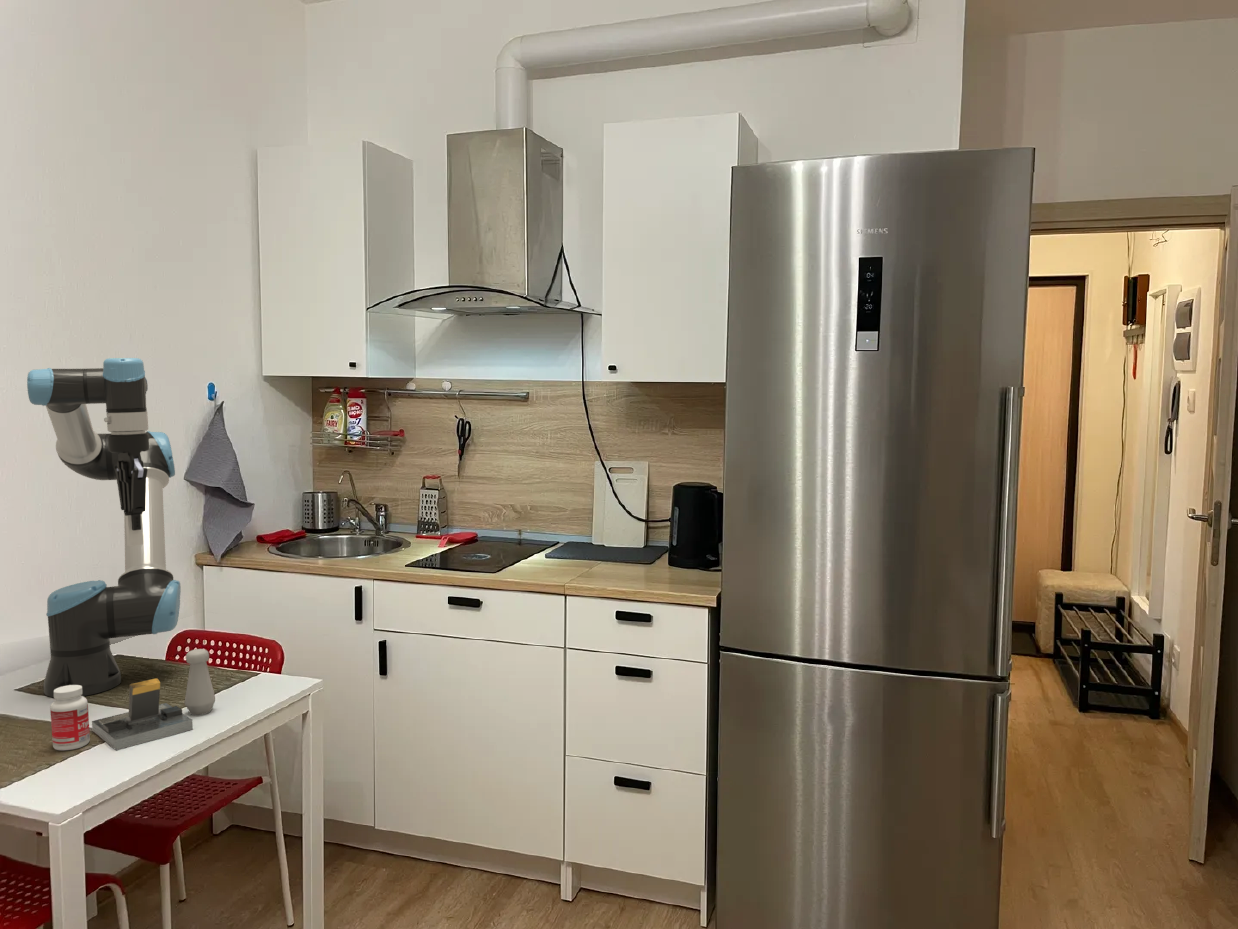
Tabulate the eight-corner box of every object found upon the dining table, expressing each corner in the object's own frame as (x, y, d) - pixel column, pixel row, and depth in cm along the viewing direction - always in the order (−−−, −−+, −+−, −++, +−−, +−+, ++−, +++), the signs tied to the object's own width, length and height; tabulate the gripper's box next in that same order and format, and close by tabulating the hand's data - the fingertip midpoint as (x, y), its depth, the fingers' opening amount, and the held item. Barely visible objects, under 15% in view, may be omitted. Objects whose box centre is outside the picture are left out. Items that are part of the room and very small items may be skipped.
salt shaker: (204, 717, 193) (200, 655, 191) (179, 716, 194) (175, 654, 193) (221, 707, 198) (218, 647, 197) (197, 706, 200) (193, 646, 198)
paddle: (125, 721, 184) (126, 685, 181) (157, 713, 188) (159, 677, 186) (128, 725, 183) (130, 689, 180) (160, 717, 187) (162, 682, 185)
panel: (92, 731, 186) (91, 716, 186) (166, 712, 196) (165, 698, 196) (116, 750, 176) (115, 734, 176) (192, 729, 186) (191, 714, 186)
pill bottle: (84, 749, 177) (80, 692, 176) (48, 753, 176) (43, 695, 174) (94, 737, 183) (90, 682, 182) (59, 740, 182) (55, 684, 181)
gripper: (98, 432, 198) (105, 543, 200) (118, 435, 189) (126, 551, 191) (136, 430, 203) (143, 538, 206) (158, 432, 194) (165, 546, 196)
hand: (135, 544), depth 198 cm, fingers closed
